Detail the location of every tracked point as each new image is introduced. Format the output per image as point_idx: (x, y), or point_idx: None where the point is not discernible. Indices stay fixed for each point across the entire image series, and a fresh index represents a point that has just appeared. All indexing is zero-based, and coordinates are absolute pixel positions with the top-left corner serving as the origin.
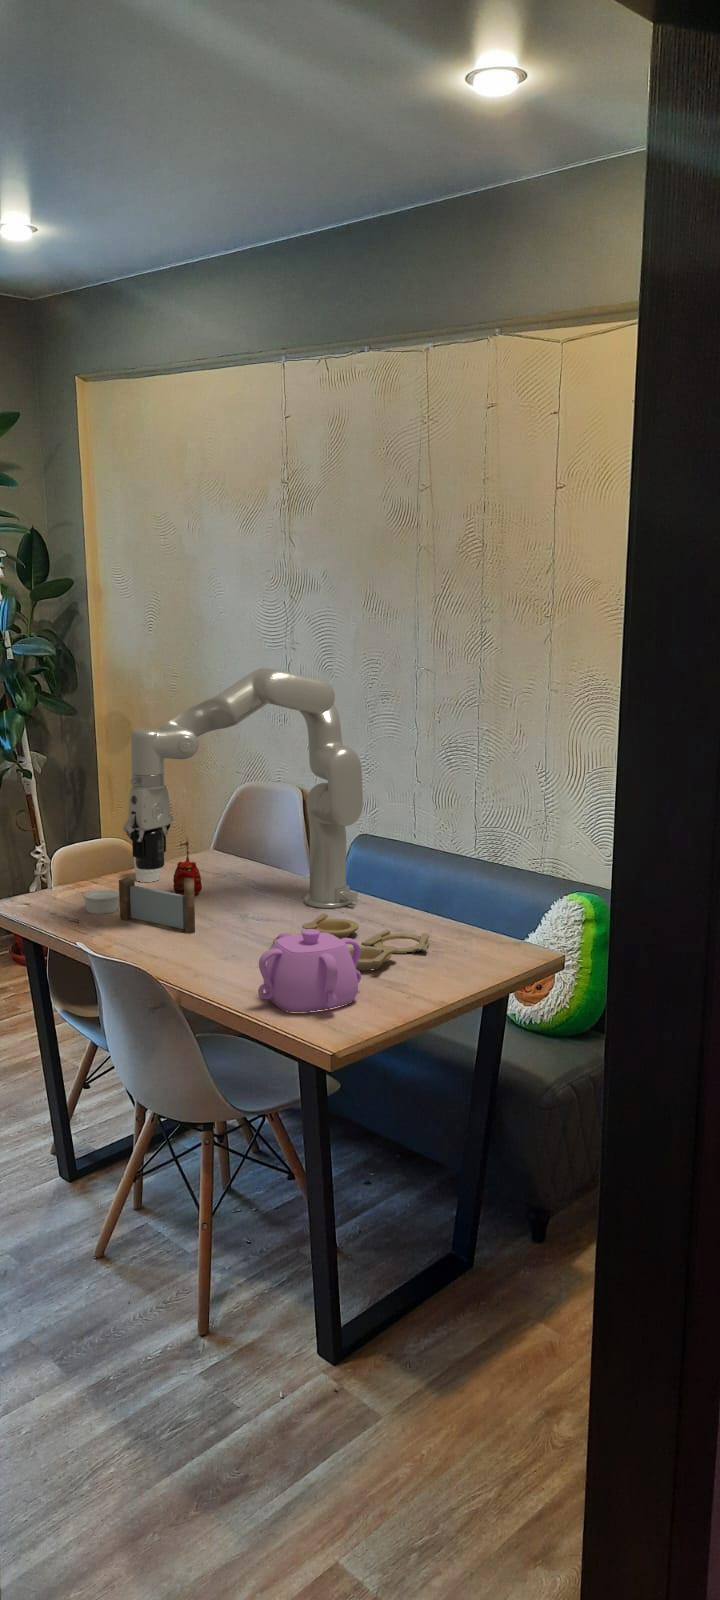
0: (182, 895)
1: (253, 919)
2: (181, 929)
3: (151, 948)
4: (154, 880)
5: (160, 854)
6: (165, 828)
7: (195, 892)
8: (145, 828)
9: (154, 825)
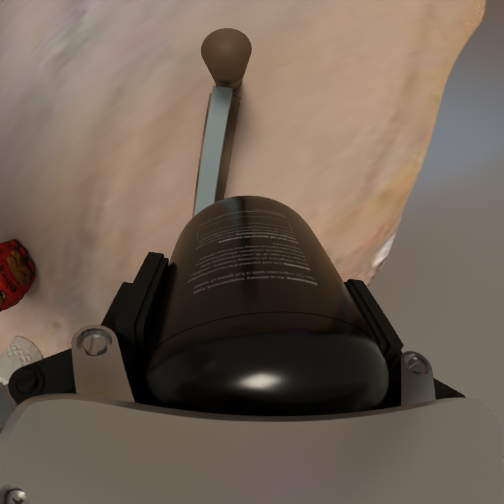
0: (216, 98)
1: (80, 23)
2: (234, 99)
3: (373, 106)
4: (25, 340)
5: (268, 222)
6: (86, 381)
7: (14, 244)
8: (480, 406)
9: (392, 443)
